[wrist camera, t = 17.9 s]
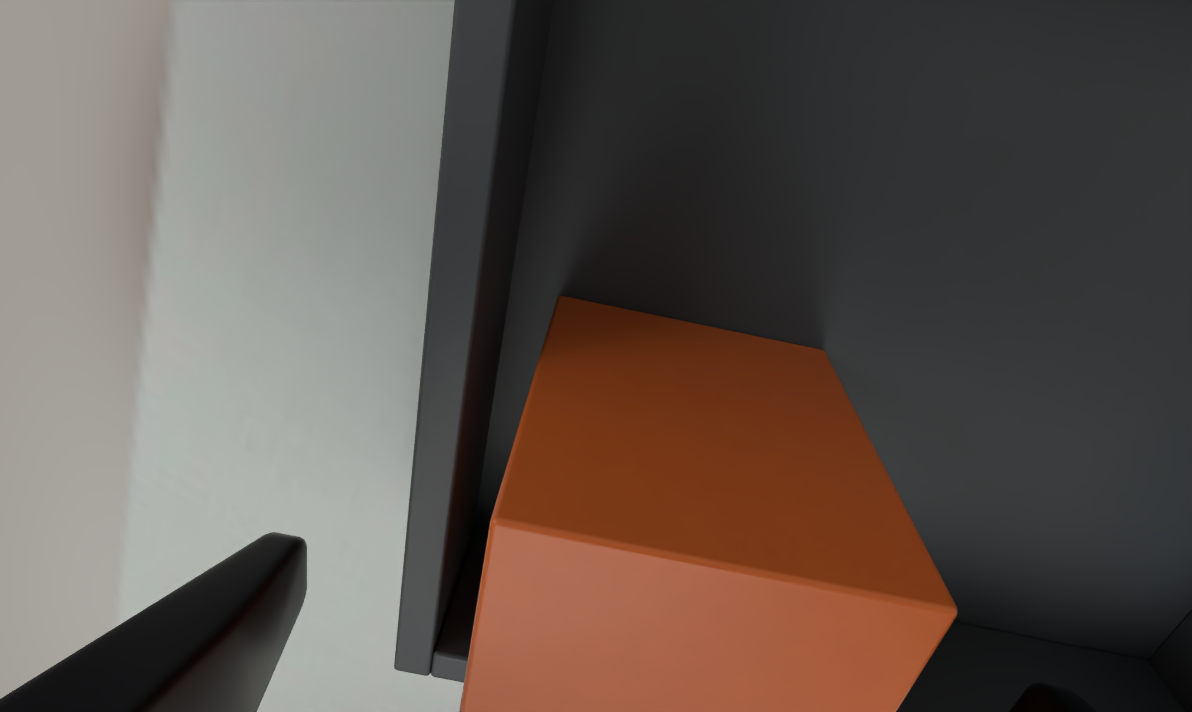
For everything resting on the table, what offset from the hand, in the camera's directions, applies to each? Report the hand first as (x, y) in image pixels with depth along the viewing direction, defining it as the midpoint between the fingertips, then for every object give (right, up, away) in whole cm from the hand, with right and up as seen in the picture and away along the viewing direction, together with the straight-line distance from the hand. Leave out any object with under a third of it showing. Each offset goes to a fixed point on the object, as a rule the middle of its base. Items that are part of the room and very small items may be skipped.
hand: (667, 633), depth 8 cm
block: (0, +2, +4) cm, 4 cm away
